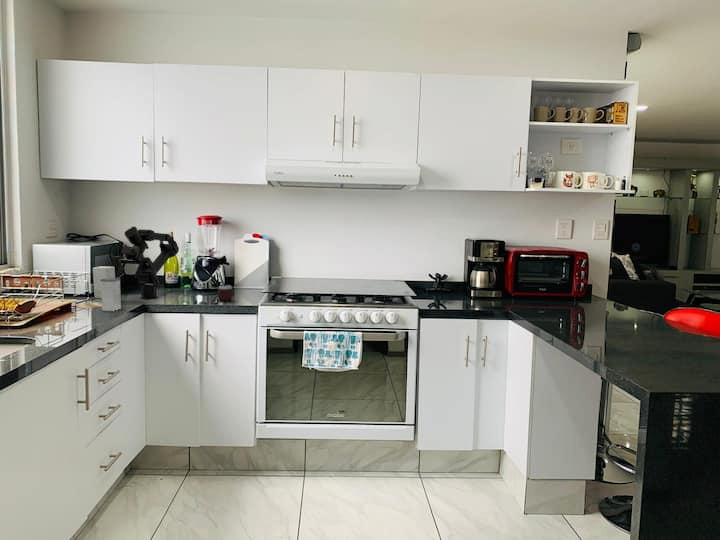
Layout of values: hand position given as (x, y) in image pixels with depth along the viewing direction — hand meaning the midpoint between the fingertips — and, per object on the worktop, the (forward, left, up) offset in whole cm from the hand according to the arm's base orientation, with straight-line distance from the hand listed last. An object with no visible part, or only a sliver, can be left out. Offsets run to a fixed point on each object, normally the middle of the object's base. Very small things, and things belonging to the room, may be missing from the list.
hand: (126, 276), depth 253 cm
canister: (+12, +8, -13) cm, 19 cm away
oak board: (+13, -8, -14) cm, 20 cm away
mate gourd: (-36, +26, -13) cm, 47 cm away
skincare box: (-3, -26, -13) cm, 30 cm away
